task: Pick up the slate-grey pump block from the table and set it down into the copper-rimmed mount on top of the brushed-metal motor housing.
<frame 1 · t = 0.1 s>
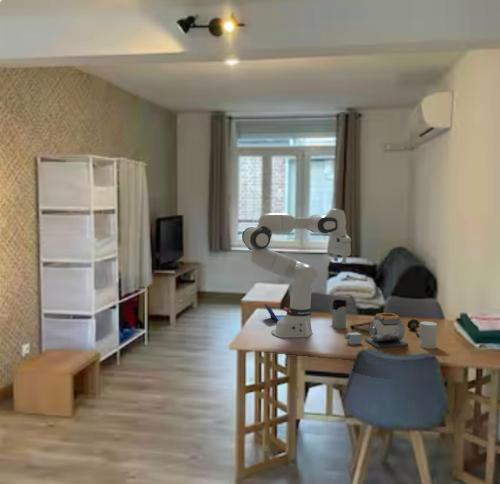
hand: (339, 262, 306), 39 cm above the table, tool pointing down, fingers open, 8 cm apart
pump: (354, 343, 285), on the table
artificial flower: (419, 335, 304), on the table
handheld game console: (277, 321, 331), on the table
cup: (427, 346, 281), on the table
motor: (386, 343, 285), on the table
glass holder: (336, 325, 321), on the table
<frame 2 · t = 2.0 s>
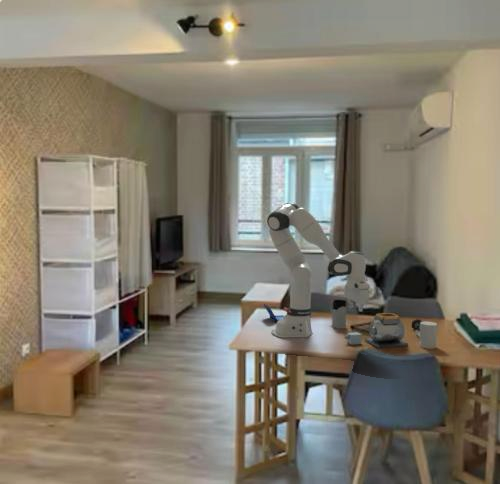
hand: (355, 309, 283), 18 cm above the table, tool pointing down, fingers open, 8 cm apart
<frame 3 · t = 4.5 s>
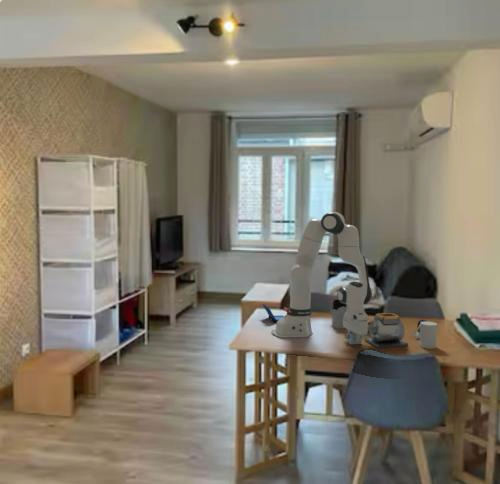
hand: (354, 339, 284), 2 cm above the table, tool pointing down, fingers closed on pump, 4 cm apart
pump: (354, 342, 285), on the table, touching gripper
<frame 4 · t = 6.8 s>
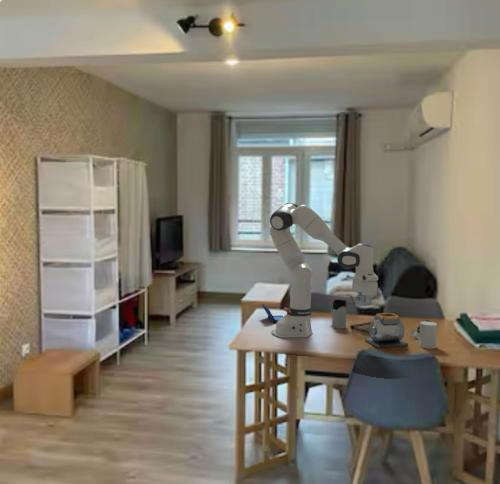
hand: (363, 301, 282), 22 cm above the table, tool pointing down, fingers closed on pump, 4 cm apart
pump: (364, 304, 282), point 20 cm above the table, touching gripper
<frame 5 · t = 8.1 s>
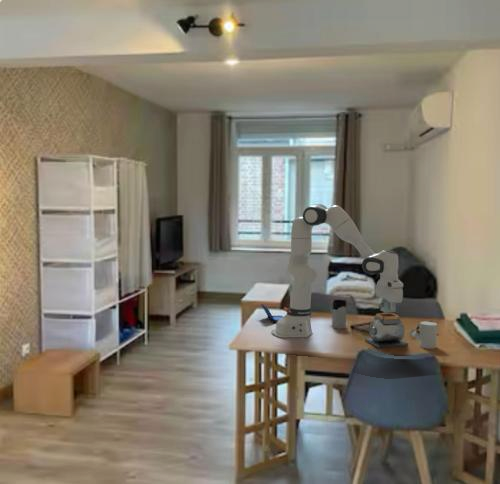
hand: (387, 308, 283), 19 cm above the table, tool pointing down, fingers closed on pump, 4 cm apart
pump: (388, 311, 283), point 17 cm above the table, touching gripper
when the fingers open (16 cm above the table, at t = 9.3 s): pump stays where it is, resting on motor.
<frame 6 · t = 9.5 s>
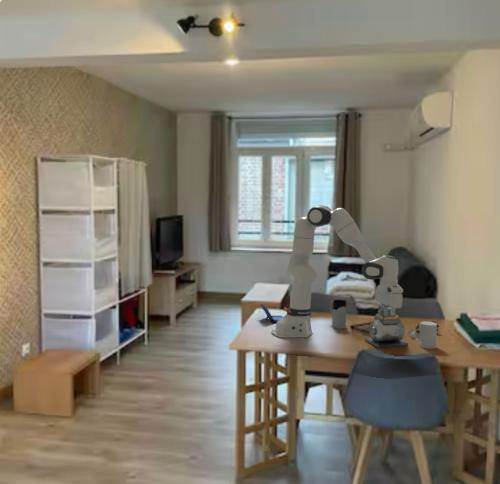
hand: (387, 313, 283), 16 cm above the table, tool pointing down, fingers open, 6 cm apart
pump: (387, 317, 284), point 13 cm above the table, touching motor
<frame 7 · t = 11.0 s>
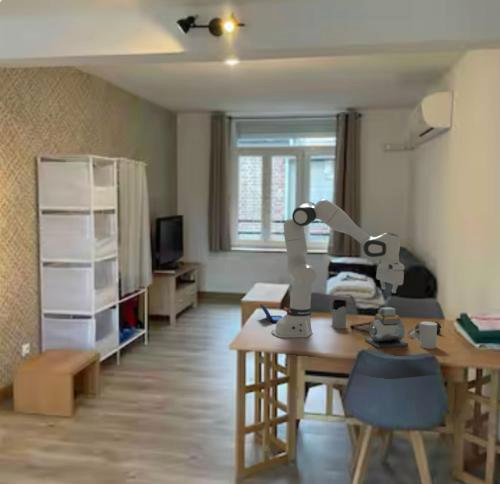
hand: (388, 291, 282), 28 cm above the table, tool pointing down, fingers open, 8 cm apart
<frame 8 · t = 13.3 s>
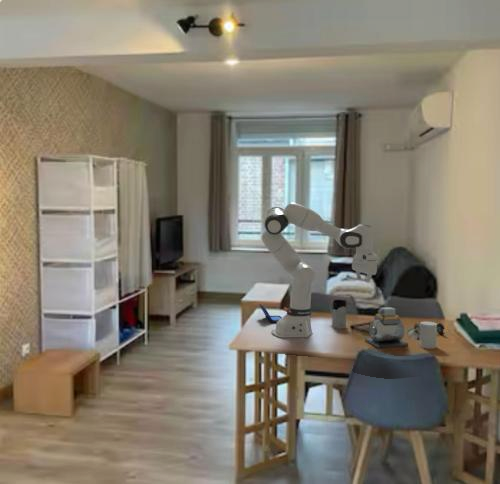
hand: (363, 280, 291), 31 cm above the table, tool pointing down, fingers open, 8 cm apart
at the end: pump 0.1 cm off-centre on the motor, point 13.5 cm above the motor's base; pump tilted 0°; the gripper is holding nothing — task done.
